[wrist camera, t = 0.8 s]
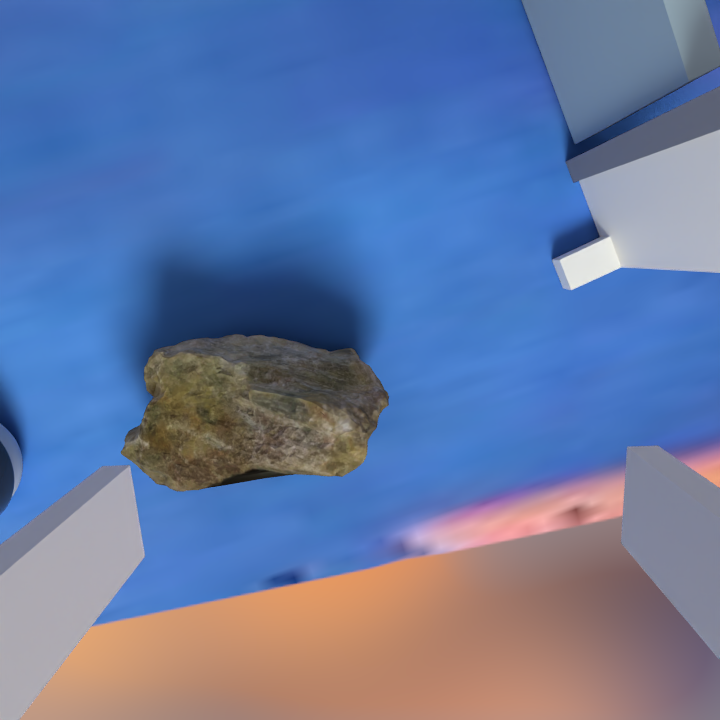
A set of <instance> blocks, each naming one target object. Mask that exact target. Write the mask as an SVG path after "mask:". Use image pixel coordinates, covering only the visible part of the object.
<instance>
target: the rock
mask: <svg viewBox="0 0 720 720" xmlns="http://www.w3.org/2000/svg"><path fill="white" fill-rule="evenodd" d="M144 380H145V382H146V388H147V391H148V392H149V393H150V394H151V395H152V396H154V398H153V399H152V400H151V401H150V403H149V404H148V405H147V407H146V410H145V413H144V417H143V419H142V423H141V424H140V426H138V427H135V428H133V429H132V430H130V431H129V432H128V434H127V435H126V438H125V445H124V448H123V450H122V451H121V454H122V455H123V456H125V457H126V458H128V459H129V460H131V461H132V462H133V463H135V464H136V465H137V466H138V467H139V468H140V469H141V470H142V471H143V472H144V473H146V474H147V475H148V476H149V477H150V478H151V479H153V481H154V482H155V483H157V484H160V485H165V486H168V487H169V488H170V489H173V490H175V491H186V490H199V489H204V488H209V487H216V486H222V485H228V484H234V483H240V482H246V481H251V480H257V479H263V478H269V477H277V476H285V475H293V474H303V475H320V476H341V477H342V476H344V475H346V474H347V473H349V472H351V471H353V470H354V469H356V468H357V467H358V466H360V465H361V464H362V463H363V462H364V460H365V457H366V455H367V441H368V439H369V437H370V436H371V434H372V433H373V431H374V430H375V429H376V428H377V423H378V417H379V415H380V413H381V412H382V410H383V409H384V408H385V407H387V406H388V405H389V403H388V399H389V396H388V393H387V392H386V391H385V390H384V388H383V386H382V384H381V382H380V380H379V379H378V378H377V376H376V375H375V373H374V372H373V371H372V369H371V367H370V366H369V365H367V364H365V363H364V362H363V361H361V360H360V359H359V356H358V355H357V354H356V352H355V350H354V349H352V348H346V349H341V350H335V351H331V352H329V351H327V350H325V349H318V348H313V347H310V346H307V345H305V344H302V343H299V342H295V341H289V340H286V339H282V338H276V337H267V336H264V335H254V336H249V337H246V336H244V335H240V334H233V335H228V336H224V337H221V338H213V339H212V338H199V339H191V340H187V341H183V342H180V343H178V344H177V345H174V346H167V347H162V348H159V349H157V350H154V352H153V355H152V356H151V357H149V360H148V363H147V364H146V366H145V368H144Z"/></svg>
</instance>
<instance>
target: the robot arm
mask: <svg viewBox="0 0 720 720" xmlns="http://www.w3.org/2000/svg"><path fill="white" fill-rule="evenodd" d="M621 543H622V545H623V546H624V547H625V548H626V549H627V551H628V552H629V553H630V554H631V555H632V556H633V558H634V559H635V560H636V561H637V562H638V563H639V565H640V566H641V567H642V568H643V570H644V571H645V572H646V573H647V574H648V575H649V576H650V578H651V579H652V580H653V581H654V582H655V584H656V585H657V586H658V587H659V588H660V589H661V591H662V592H663V593H664V594H665V596H666V597H667V598H668V599H669V600H670V602H671V603H672V604H673V605H674V606H675V607H676V609H677V610H678V611H679V612H680V613H681V614H682V616H683V617H684V618H685V619H686V620H687V622H688V623H689V624H690V625H691V626H692V628H693V629H694V630H695V631H696V632H697V633H698V635H699V636H700V637H701V638H702V639H703V640H704V642H705V643H706V644H707V645H708V646H709V648H710V649H711V650H712V651H713V652H714V654H715V655H716V656H717V657H718V658H719V660H720V488H719V487H717V486H716V485H714V484H713V483H712V482H710V481H709V480H707V479H706V478H704V477H703V476H701V475H700V474H698V473H697V472H695V471H694V470H692V469H691V468H690V467H688V466H687V465H685V464H684V463H682V462H681V461H679V460H678V459H676V458H675V457H673V456H672V455H671V454H669V453H668V452H666V451H665V450H663V449H662V448H660V447H659V446H638V447H627V458H626V474H625V489H624V505H623V520H622V537H621ZM144 557H145V554H144V548H143V542H142V536H141V530H140V524H139V518H138V512H137V505H136V499H135V493H134V487H133V481H132V475H131V469H130V465H124V466H102V467H101V468H99V469H98V470H97V471H96V472H94V473H93V474H92V475H90V476H89V477H88V478H86V479H85V480H84V481H83V482H81V483H80V484H79V485H77V486H76V487H75V488H73V489H72V490H71V491H70V492H68V493H67V494H66V495H64V496H63V497H62V498H60V499H59V500H58V501H57V502H55V503H54V504H53V505H51V506H50V507H49V508H48V509H46V510H45V511H44V512H42V513H41V514H40V515H38V516H37V517H36V518H35V519H33V520H32V521H31V522H29V523H28V524H27V525H25V526H24V527H23V528H22V529H20V530H19V531H18V532H16V533H15V534H14V535H12V536H11V537H10V538H9V539H7V540H6V541H5V542H3V543H2V544H1V545H0V720H19V719H20V718H21V716H22V715H23V714H24V713H25V712H26V710H27V709H28V708H29V706H30V705H31V704H32V702H33V701H34V700H35V698H36V697H37V696H38V695H39V693H40V692H41V691H42V689H43V688H44V687H45V686H46V684H47V683H48V682H49V680H50V679H51V678H52V676H53V675H54V674H55V673H56V671H57V670H58V669H59V667H60V666H61V665H62V663H63V662H64V661H65V660H66V658H67V657H68V656H69V654H70V653H71V652H72V650H73V649H74V648H75V647H76V645H77V644H78V643H79V641H80V640H81V639H82V637H83V636H84V635H85V634H86V632H87V631H88V630H89V628H90V627H91V626H92V624H93V623H94V622H95V621H96V619H97V618H98V617H99V615H100V614H101V613H102V611H103V610H104V609H105V608H106V606H107V605H108V604H109V602H110V601H111V600H112V598H113V597H114V596H115V595H116V593H117V592H118V591H119V589H120V588H121V587H122V585H123V584H124V583H125V582H126V580H127V579H128V578H129V576H130V575H131V574H132V572H133V571H134V570H135V569H136V567H137V566H138V565H139V563H140V562H141V561H142V559H143V558H144Z"/></svg>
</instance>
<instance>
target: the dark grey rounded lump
mask: <svg viewBox="0 0 720 720" xmlns="http://www.w3.org/2000/svg"><path fill="white" fill-rule="evenodd" d="M22 470H23V460H22V454H21V451H20V448H19V445H18V443H17V442H16V440H15V438H14V437H13V435H12V434H11V433H10V432H9V431H8V430H7V429H6V428H5V427H4V426H3V425H2V424H0V515H1V514H2V512H3V511H4V510H5V509H6V507H7V506H8V504H9V502H10V500H11V498H12V496H13V495H14V493H15V491H16V489H17V488H18V485H19V483H20V480H21V476H22Z"/></svg>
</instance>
